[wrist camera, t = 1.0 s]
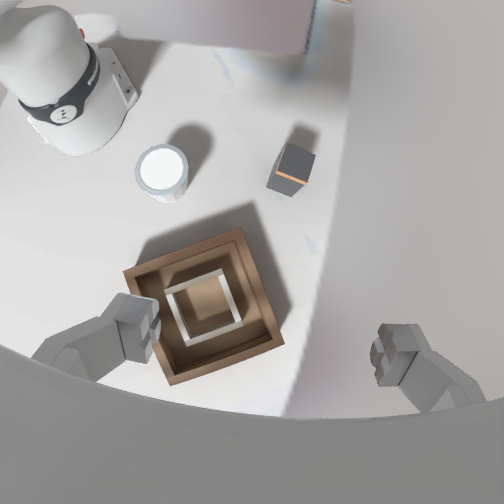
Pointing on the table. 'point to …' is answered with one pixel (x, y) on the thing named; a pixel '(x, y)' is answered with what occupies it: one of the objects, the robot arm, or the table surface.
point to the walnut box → (207, 306)
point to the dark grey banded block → (291, 170)
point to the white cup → (163, 172)
